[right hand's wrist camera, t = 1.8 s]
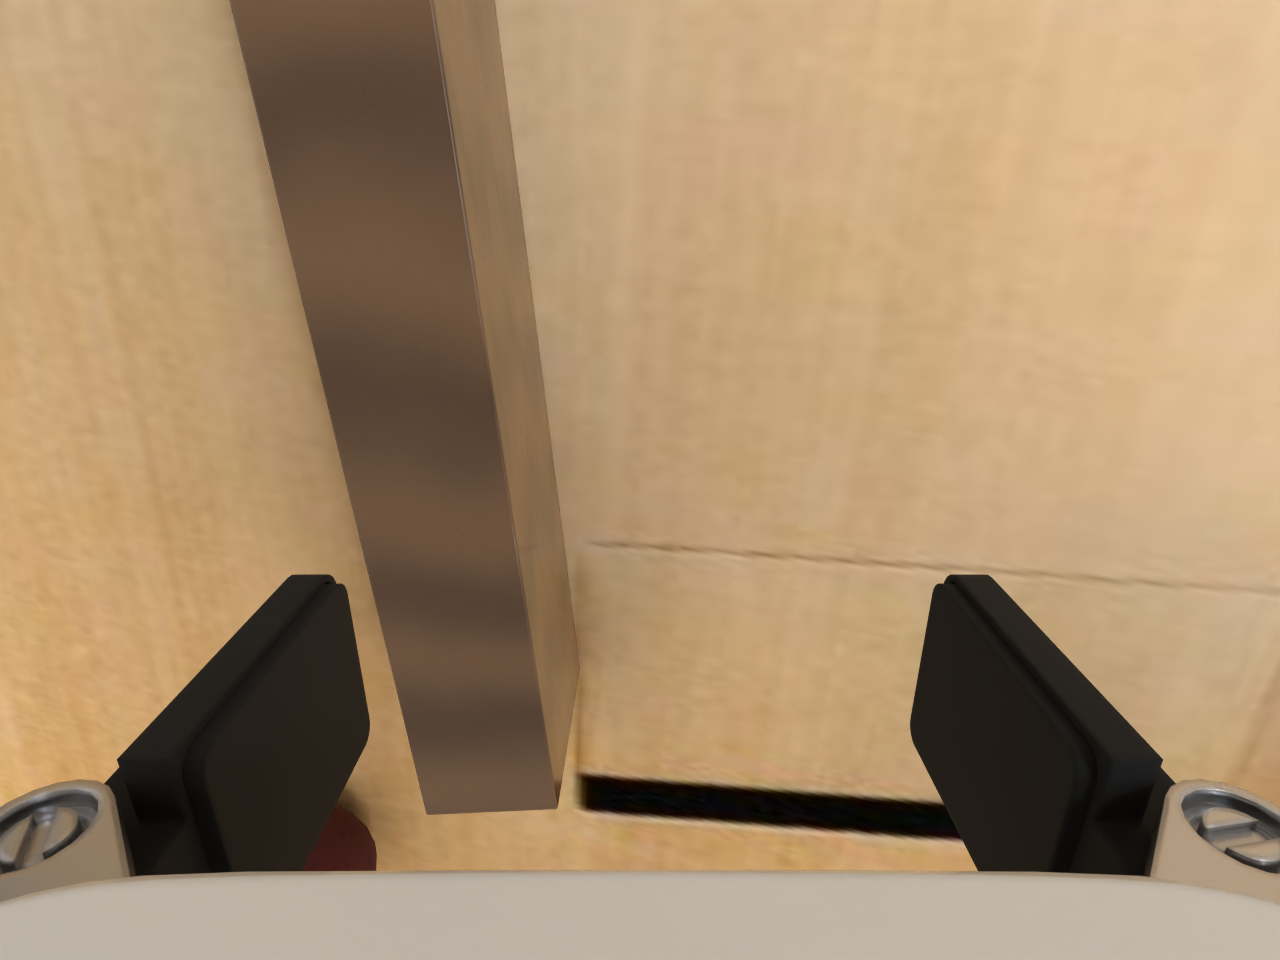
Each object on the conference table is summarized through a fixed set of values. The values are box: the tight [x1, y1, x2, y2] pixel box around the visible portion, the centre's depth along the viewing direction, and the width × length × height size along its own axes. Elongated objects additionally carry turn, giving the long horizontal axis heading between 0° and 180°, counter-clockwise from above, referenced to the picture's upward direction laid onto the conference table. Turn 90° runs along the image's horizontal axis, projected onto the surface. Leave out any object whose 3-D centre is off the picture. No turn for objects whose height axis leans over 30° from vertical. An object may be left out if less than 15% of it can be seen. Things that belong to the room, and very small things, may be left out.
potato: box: [302, 805, 377, 871], centre depth 33 cm, size 7×8×7 cm
